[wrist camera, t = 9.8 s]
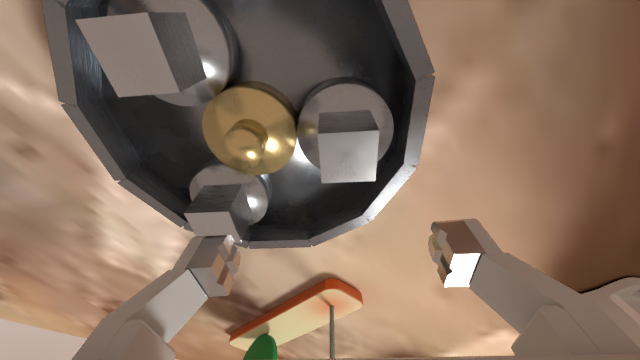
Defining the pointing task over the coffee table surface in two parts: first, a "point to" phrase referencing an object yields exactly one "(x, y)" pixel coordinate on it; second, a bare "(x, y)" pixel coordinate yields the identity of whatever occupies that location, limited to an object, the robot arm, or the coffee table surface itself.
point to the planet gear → (345, 130)
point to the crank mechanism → (297, 319)
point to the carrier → (237, 105)
